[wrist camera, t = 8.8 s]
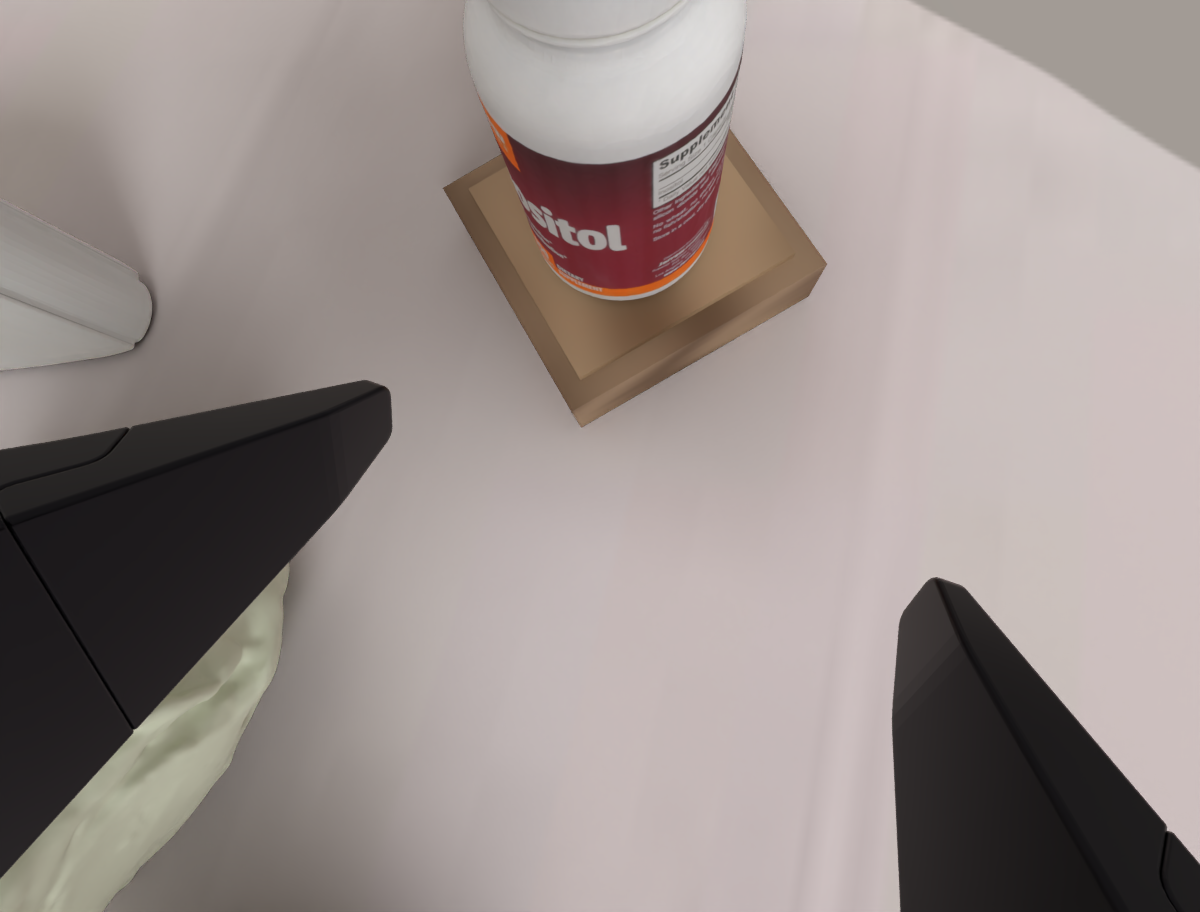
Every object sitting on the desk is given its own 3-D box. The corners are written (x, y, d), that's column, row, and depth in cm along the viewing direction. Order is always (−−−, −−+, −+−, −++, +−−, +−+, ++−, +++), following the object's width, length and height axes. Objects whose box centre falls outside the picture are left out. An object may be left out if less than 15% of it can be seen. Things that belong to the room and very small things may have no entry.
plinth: (581, 427, 22) (570, 409, 19) (465, 225, 24) (439, 183, 21) (808, 296, 22) (829, 259, 19) (673, 104, 24) (675, 46, 21)
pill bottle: (501, 235, 21) (327, -112, 10) (618, 114, 21) (575, -349, 10) (629, 344, 20) (590, 85, 9) (751, 214, 20) (859, -191, 9)
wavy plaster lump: (229, 799, 28) (-346, 1349, 14) (50, 586, 27) (-765, 938, 13) (479, 651, 21) (-181, 1485, 6) (246, 355, 20) (-1112, 565, 6)
